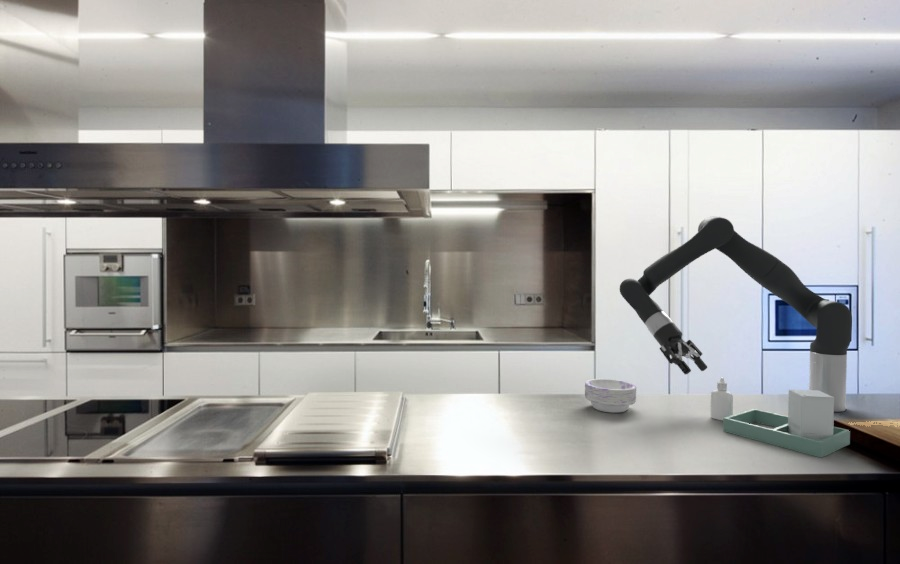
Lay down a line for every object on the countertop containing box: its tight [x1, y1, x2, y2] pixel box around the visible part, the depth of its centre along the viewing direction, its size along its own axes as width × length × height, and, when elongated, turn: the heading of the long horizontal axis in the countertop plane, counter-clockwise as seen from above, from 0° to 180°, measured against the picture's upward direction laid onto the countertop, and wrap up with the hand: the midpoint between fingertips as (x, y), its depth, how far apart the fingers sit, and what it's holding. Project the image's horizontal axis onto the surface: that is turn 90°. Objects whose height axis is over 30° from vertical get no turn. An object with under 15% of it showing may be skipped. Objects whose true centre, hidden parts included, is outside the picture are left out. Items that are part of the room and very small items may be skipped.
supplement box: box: [787, 389, 835, 441], centre depth 129 cm, size 7×7×13 cm
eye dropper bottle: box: [709, 377, 734, 422], centre depth 150 cm, size 4×6×12 cm
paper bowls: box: [584, 378, 637, 414], centre depth 161 cm, size 15×15×8 cm
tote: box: [722, 408, 851, 458], centre depth 134 cm, size 16×23×4 cm
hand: (696, 371), depth 156 cm, fingers open, 8 cm apart
